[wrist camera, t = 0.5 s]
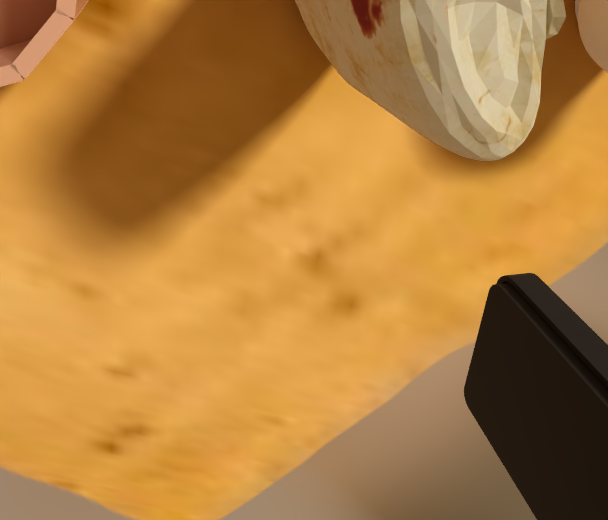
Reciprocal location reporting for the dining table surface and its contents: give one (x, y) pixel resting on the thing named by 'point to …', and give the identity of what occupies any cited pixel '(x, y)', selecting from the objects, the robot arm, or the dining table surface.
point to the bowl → (31, 33)
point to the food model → (443, 63)
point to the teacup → (594, 29)
